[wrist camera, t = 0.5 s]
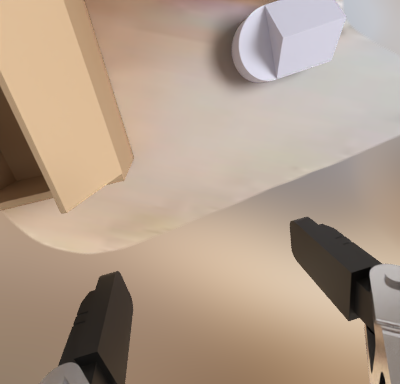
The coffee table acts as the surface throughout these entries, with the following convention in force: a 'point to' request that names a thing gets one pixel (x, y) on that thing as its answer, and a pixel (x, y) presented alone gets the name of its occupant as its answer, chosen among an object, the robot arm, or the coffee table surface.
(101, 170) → the flap
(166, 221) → the coffee table surface
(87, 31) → the carton
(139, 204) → the coffee table surface
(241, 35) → the wedge on round base
